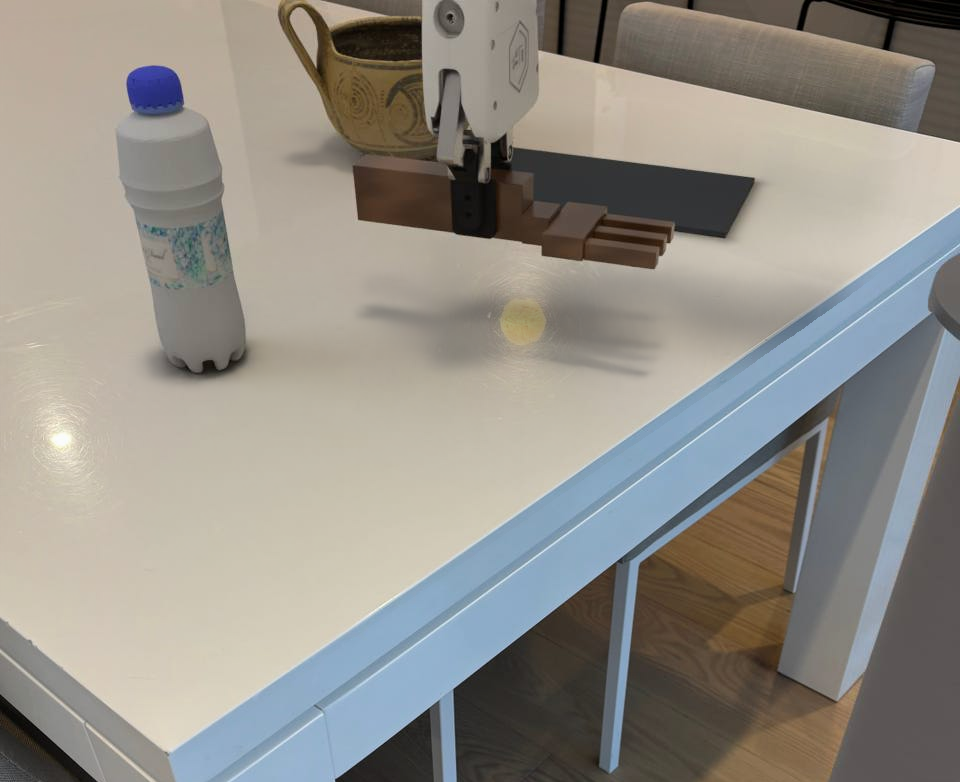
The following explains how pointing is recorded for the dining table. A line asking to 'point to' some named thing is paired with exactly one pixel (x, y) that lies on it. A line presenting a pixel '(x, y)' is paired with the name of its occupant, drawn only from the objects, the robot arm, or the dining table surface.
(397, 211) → the fork
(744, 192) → the place mat
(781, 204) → the dining table surface
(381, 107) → the ceramic bowl
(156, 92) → the bottle
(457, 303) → the dining table surface
